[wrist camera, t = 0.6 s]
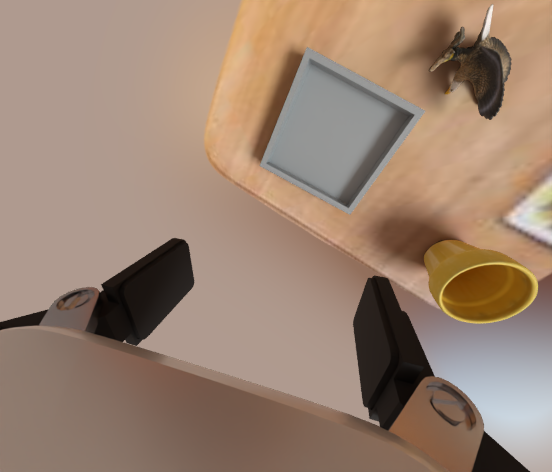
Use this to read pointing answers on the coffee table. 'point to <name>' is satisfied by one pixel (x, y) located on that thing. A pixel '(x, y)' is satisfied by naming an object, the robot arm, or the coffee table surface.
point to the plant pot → (477, 282)
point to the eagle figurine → (480, 67)
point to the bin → (336, 132)
